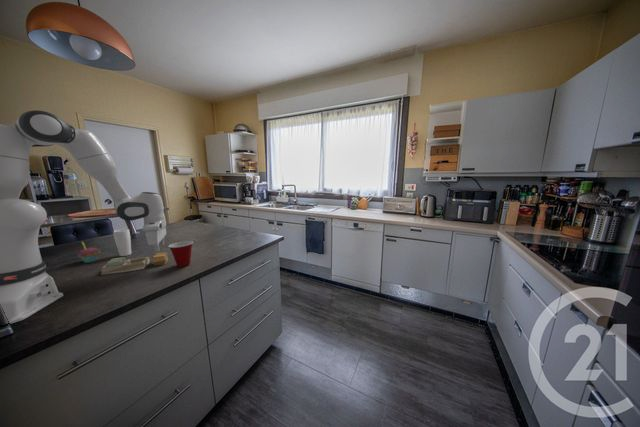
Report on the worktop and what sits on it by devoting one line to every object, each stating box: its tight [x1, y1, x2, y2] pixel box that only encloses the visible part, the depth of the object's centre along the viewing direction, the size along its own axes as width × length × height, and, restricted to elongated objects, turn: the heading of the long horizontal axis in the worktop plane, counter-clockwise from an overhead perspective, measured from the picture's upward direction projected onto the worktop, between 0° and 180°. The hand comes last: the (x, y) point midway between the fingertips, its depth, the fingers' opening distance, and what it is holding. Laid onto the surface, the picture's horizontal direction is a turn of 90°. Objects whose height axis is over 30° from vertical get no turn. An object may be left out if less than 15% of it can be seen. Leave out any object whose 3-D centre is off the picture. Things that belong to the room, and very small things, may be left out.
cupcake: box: [76, 241, 101, 263], centre depth 113 cm, size 9×8×12 cm
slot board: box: [100, 256, 151, 276], centre depth 106 cm, size 10×16×5 cm, turn 114°
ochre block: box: [152, 252, 169, 267], centre depth 111 cm, size 5×5×5 cm
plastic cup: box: [168, 240, 194, 268], centre depth 109 cm, size 11×11×12 cm
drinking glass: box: [112, 228, 132, 257], centre depth 121 cm, size 7×7×15 cm
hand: (159, 248), depth 111 cm, fingers open, 8 cm apart
